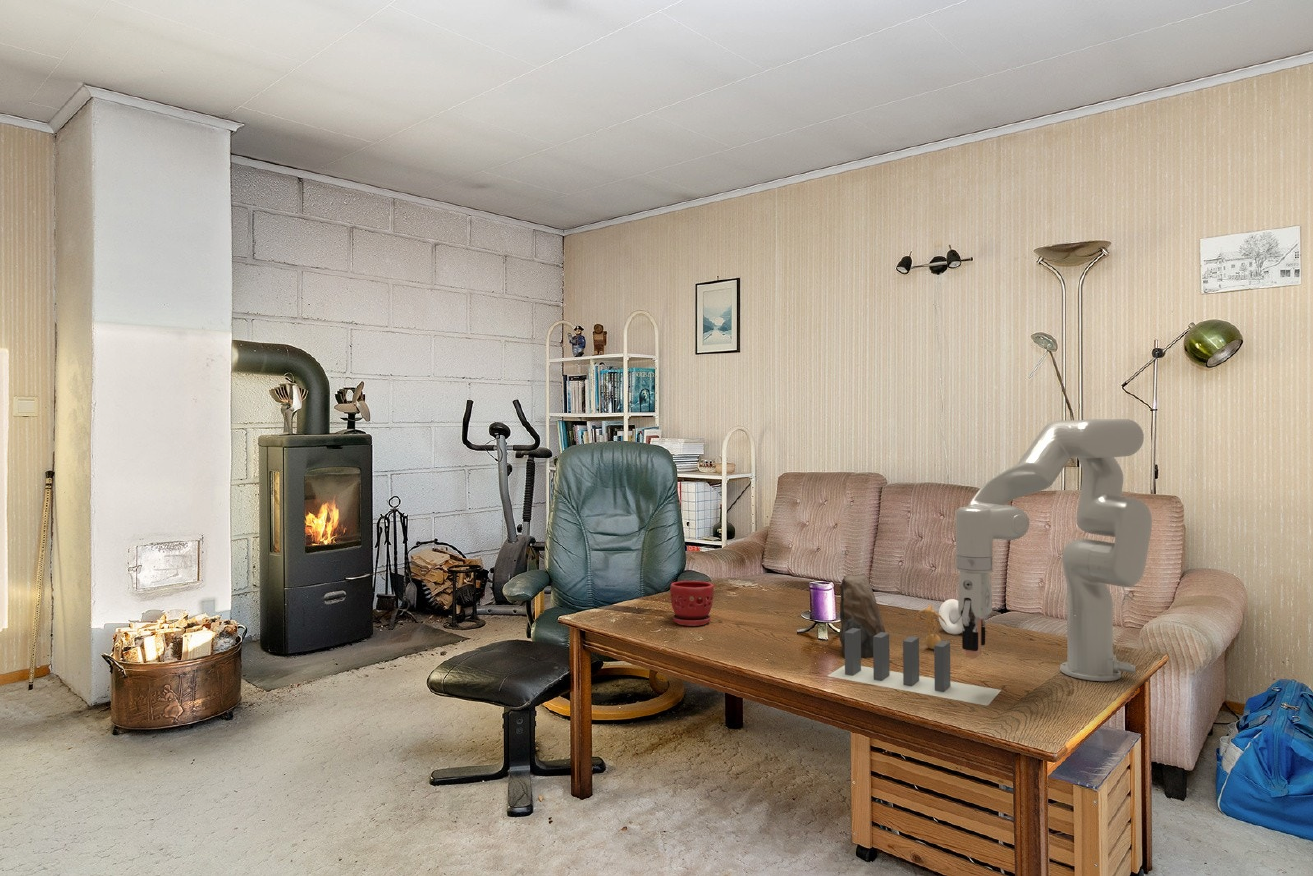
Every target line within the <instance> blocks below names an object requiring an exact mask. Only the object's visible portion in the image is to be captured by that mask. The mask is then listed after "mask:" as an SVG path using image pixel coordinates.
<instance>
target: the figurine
mask: <svg viewBox="0 0 1313 876" xmlns="http://www.w3.org/2000/svg"><path fill="white" fill-rule="evenodd" d="M919 614H924V615H925V619H924V622H925V624H926V625H927V628H926V629H927V632H928V635H926V637H925V640H924V641H925V644H926V646H927V647H928V648H929V649H931V650H934V645H936V644H937V643H938V642H940V641H942V639H941V637H940V636H939V635H938V634H937V633H936V632H935V631H936V629H937V627H938V624H937V622H936V619H934V618H933V617H934V616H936V617H938V618H939V617H940V618H941V620H942V621H943V622H944V623H945V624H946V622H945V621H944V619H943V618H942V617H941V616H940V615H939V612H938V613H937V612H936V611H935V610H934V609H933V606H932V605H931V604H929V605H928V606H927V607H926V608H923V609H922V610H919V611H918V612H916V615H915V622H918V620H919ZM931 625H932V626H934V627H933V628H932V633H931V630H930V629H931ZM946 626H947V625H946Z"/></svg>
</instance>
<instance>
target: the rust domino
mask: <svg viewBox="0 0 1313 876" xmlns="http://www.w3.org/2000/svg"><path fill="white" fill-rule="evenodd" d="M970 617H975V615H972V614H970ZM970 621H972V623H973V621H974V620H970ZM977 632H978V651H971V650H965V657H966V658H970V659H976V658H978V657H979V656H980V655H981V654H982V645H981V619H979V618H978V621H977Z"/></svg>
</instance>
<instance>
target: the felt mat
mask: <svg viewBox="0 0 1313 876" xmlns="http://www.w3.org/2000/svg"><path fill="white" fill-rule="evenodd" d="M827 677H830V678H835V679H841V680H846V681H852V682H856V683H861V684H862V683H863V684H866V685H867V684H868V685H873V686H877V687H883V688H889V689H892V690H893V689H895V690H898V691H899V690H900V691H906V692H911V693H917V694H921V695H926V696H931V697H937V698H943V699H949V700H954V701H959V702H965V703H970V704H974V705H975V704H976V705H981V706H985V707H988V706H989V705H990V704H991V703H992V702H993V701H994V699H995V698H996V697H997V696H998V695H999V694H1000V692H1002V689H998V688H993V687H992V688H991V687H986V686H979V685H976V684H975V685H973V684H968V683H962V682H956V681H951V680H950V685H951V686H950V687H949V688H948V689H947V690H946V691H945V692H940V691H935V677H934V678H933V677H928V676H922V675H919V681H918V682H917V683H916V684H915V685H913V686H907V685H903V672H898V671H892V670H890V676H888V677H887V678H885V679H884V680H883V681H879V680H874V678H873V667H869V666H863V665H861V671H860V672H858V673H856V674H855V675H853V676H851V675H846V674H845V664H844V665H843V666H841V667H839V668H837V669H836V670H834V671H833V672H831V673H829V674H828V675H827Z"/></svg>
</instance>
